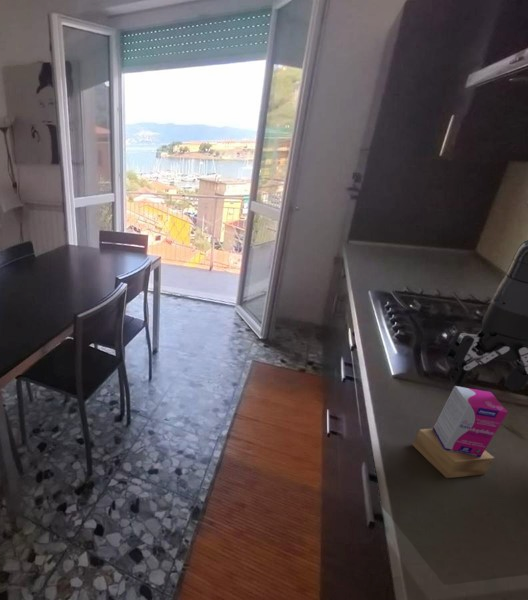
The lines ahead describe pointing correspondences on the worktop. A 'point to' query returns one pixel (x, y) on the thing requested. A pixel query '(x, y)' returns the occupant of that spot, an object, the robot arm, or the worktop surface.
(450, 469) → the maple block
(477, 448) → the supplement box
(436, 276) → the worktop surface
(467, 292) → the worktop surface
